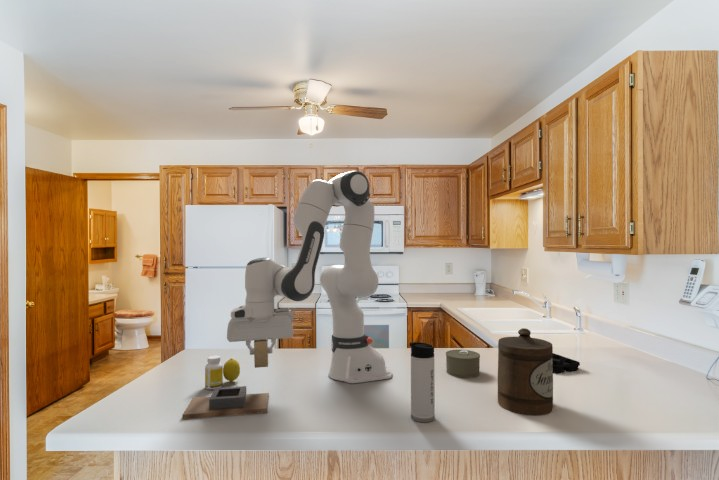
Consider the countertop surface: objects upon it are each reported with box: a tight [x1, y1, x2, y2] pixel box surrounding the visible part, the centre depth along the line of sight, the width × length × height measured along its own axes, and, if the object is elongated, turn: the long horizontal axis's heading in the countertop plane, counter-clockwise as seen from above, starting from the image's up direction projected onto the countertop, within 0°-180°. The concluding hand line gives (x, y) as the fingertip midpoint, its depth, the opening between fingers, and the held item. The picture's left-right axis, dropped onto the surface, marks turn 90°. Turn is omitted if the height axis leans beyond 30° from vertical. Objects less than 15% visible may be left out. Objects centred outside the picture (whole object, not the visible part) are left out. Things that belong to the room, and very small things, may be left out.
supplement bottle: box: [204, 355, 224, 391], centre depth 133 cm, size 5×5×10 cm
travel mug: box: [409, 341, 436, 423], centre depth 109 cm, size 6×7×20 cm
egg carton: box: [552, 352, 581, 375], centre depth 160 cm, size 18×30×4 cm, turn 29°
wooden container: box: [497, 327, 554, 416], centre depth 118 cm, size 15×15×22 cm
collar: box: [209, 385, 247, 410], centre depth 117 cm, size 9×9×3 cm
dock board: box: [182, 392, 270, 420], centre depth 117 cm, size 22×12×1 cm, turn 100°
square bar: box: [253, 339, 269, 368], centre depth 128 cm, size 4×4×8 cm
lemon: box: [223, 358, 241, 383], centre depth 138 cm, size 6×6×8 cm
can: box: [445, 349, 481, 379], centre depth 147 cm, size 12×12×7 cm
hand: (261, 353), depth 128 cm, fingers closed on square bar, 4 cm apart
